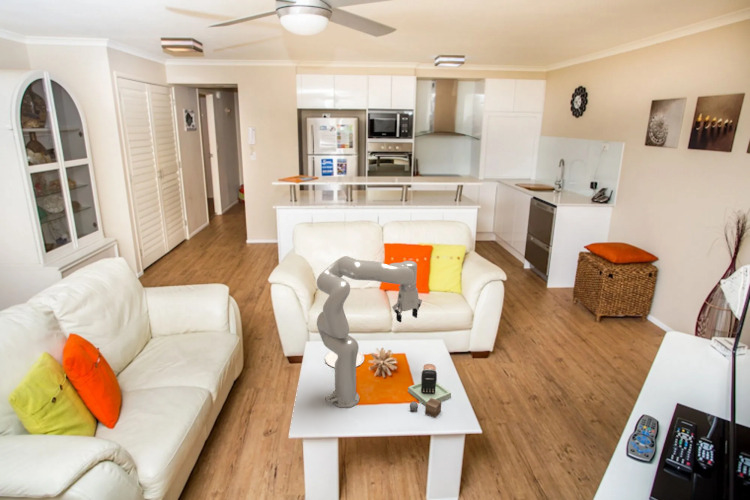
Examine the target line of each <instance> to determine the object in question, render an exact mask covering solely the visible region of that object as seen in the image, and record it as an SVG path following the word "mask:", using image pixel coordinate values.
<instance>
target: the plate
mask: <svg viewBox="0 0 750 500" xmlns="http://www.w3.org/2000/svg"><path fill="white" fill-rule="evenodd" d="M337 358H338V356H337V354H335V353H334V352H333V351H331V350H330V352H327V354H326V355H325V357H324V361H325V363H326V364H327V365H328V366H329V367H331V368H334V369H335V362H336V360H337ZM364 361H365V355H364V354H363V353H362V352H361V351H359V350H358V353H357V359H356V368H357V367H359V366H362V364H363V363H364Z"/></svg>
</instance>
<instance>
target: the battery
mask: <svg viewBox="0 0 750 500" xmlns="http://www.w3.org/2000/svg"><path fill="white" fill-rule="evenodd" d="M437 376H438V374H437V370H436V371H435V370H433V369H424V370H423V369H422V371H421V377H420V378H421V380H420V382H421V392H422V393H424V394H435V389H436V382H437V380H438V379H437V378H438V377H437Z"/></svg>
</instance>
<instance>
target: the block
mask: <svg viewBox="0 0 750 500" xmlns="http://www.w3.org/2000/svg"><path fill="white" fill-rule="evenodd" d="M424 409H425V410H424V413H425V415H428V416H431V417H433V418H436V417H437V416H439V415H440V413H441V412H442V401H441V402H440V401H438V400H435V399H433V398H431V399H430V400H429V401H428V402H427V403H426V406H425V408H424Z"/></svg>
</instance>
